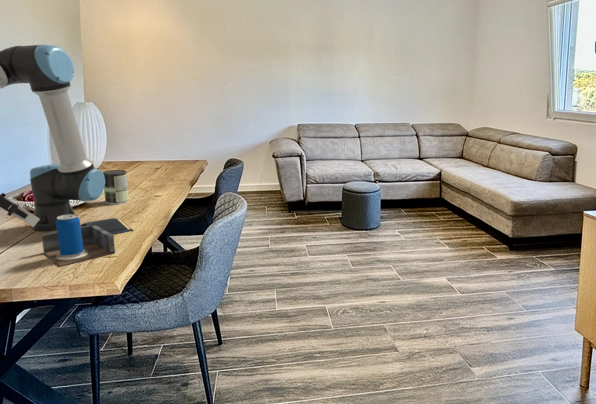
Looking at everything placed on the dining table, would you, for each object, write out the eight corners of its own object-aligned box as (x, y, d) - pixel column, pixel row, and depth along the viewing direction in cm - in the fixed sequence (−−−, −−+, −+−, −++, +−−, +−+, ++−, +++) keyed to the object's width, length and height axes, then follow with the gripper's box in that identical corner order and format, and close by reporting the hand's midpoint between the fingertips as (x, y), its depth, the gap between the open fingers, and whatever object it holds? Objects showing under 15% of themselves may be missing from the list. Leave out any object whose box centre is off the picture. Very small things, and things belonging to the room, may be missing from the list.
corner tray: (43, 252, 140) (41, 234, 139) (96, 241, 151) (93, 224, 150) (60, 266, 129) (57, 247, 128) (115, 253, 140) (113, 234, 139)
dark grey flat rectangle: (79, 221, 170) (121, 215, 178) (80, 226, 170) (122, 220, 178) (88, 235, 154) (133, 228, 162) (88, 240, 154) (134, 233, 162)
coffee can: (104, 205, 199) (100, 174, 195) (106, 200, 208) (103, 170, 205) (128, 203, 202) (125, 173, 198) (129, 198, 211) (127, 169, 208)
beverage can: (85, 249, 141) (80, 213, 138) (82, 256, 135) (77, 218, 132) (62, 251, 139) (57, 214, 137) (58, 259, 133) (52, 220, 131)
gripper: (-64, 177, 121) (9, 220, 135) (-49, 192, 104) (32, 238, 117) (-43, 156, 123) (26, 200, 137) (-26, 166, 106) (52, 215, 120)
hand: (29, 218), depth 127 cm, fingers open, 13 cm apart
